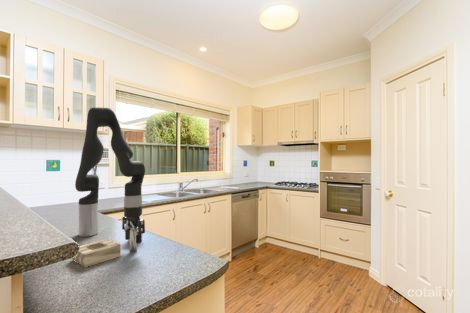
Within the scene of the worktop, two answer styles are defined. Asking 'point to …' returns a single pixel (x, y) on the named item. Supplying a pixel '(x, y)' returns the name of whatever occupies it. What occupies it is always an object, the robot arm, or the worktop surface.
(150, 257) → the worktop surface
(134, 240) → the steel pin
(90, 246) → the wooden peg hole block
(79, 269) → the worktop surface
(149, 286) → the worktop surface
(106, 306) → the worktop surface
